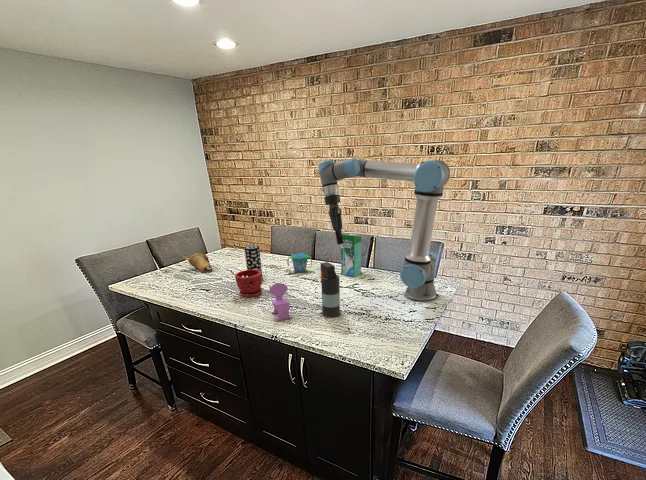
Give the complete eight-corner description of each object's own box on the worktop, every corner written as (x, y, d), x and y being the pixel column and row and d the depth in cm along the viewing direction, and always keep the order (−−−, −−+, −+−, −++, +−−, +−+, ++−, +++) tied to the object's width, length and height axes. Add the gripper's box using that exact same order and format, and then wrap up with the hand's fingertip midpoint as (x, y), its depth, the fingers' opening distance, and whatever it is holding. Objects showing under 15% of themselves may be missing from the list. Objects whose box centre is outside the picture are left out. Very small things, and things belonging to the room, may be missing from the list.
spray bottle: (317, 310, 159) (315, 263, 150) (332, 306, 162) (331, 260, 153) (327, 319, 150) (325, 269, 141) (343, 315, 154) (342, 266, 145)
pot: (195, 261, 206) (184, 247, 216) (190, 277, 210) (179, 263, 220) (221, 264, 219) (209, 251, 229) (216, 279, 223) (204, 265, 233)
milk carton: (361, 272, 210) (361, 232, 200) (354, 276, 203) (354, 235, 193) (348, 270, 214) (348, 231, 204) (341, 274, 207) (340, 233, 197)
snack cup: (313, 268, 220) (312, 253, 216) (311, 273, 210) (310, 257, 206) (289, 268, 221) (288, 253, 217) (286, 273, 211) (285, 257, 207)
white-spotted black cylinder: (245, 282, 197) (241, 248, 189) (253, 277, 204) (250, 245, 196) (257, 283, 194) (253, 249, 186) (265, 279, 201) (262, 246, 194)
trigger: (320, 283, 155) (320, 269, 153) (326, 282, 156) (326, 268, 154) (322, 284, 154) (321, 270, 151) (328, 283, 155) (327, 269, 152)
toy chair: (275, 321, 149) (272, 289, 143) (270, 313, 156) (267, 283, 150) (293, 318, 152) (291, 286, 146) (287, 310, 159) (285, 280, 153)
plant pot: (254, 288, 188) (252, 267, 183) (267, 294, 179) (265, 272, 174) (233, 294, 179) (230, 273, 175) (246, 301, 171) (243, 278, 166)
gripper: (320, 198, 167) (329, 245, 172) (328, 194, 155) (337, 245, 160) (334, 195, 169) (343, 242, 174) (343, 192, 157) (352, 242, 162)
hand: (340, 244), depth 167 cm, fingers closed
